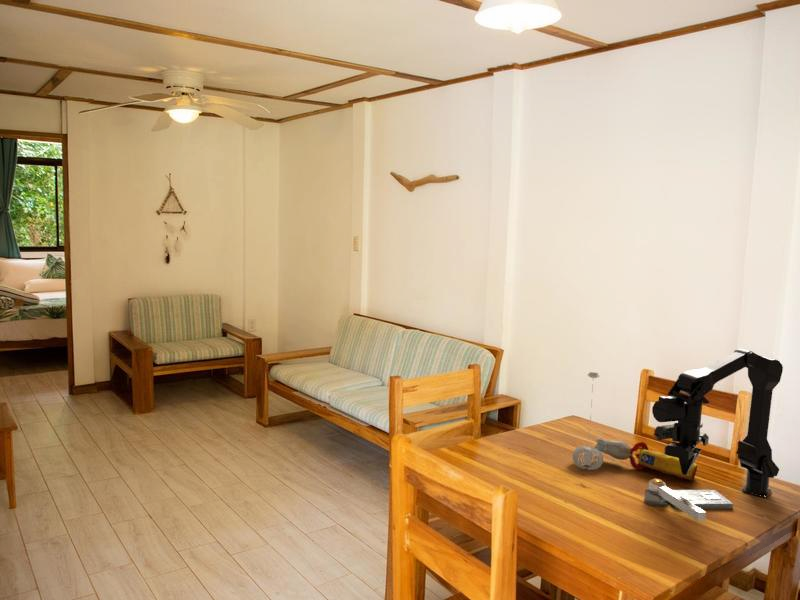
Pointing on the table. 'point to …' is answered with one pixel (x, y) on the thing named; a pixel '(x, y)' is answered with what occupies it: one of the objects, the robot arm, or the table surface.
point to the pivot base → (655, 499)
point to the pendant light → (588, 449)
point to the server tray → (705, 499)
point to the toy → (644, 457)
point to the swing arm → (676, 499)
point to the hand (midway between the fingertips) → (684, 474)
